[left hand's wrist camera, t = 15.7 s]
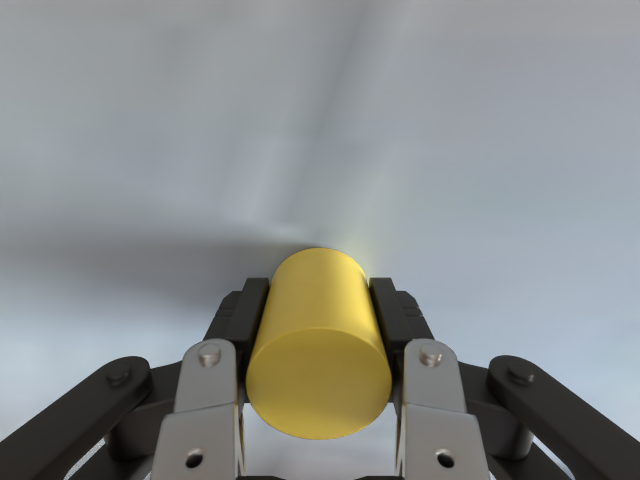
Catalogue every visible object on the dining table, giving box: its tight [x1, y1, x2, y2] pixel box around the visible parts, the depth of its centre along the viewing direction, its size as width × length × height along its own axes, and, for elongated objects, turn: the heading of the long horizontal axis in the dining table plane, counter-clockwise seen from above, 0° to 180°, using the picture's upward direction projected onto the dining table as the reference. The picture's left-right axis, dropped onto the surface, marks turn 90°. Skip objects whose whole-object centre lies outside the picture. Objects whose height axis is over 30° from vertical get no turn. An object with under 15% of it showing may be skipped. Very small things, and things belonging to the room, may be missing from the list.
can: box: [246, 248, 392, 440], centre depth 11 cm, size 4×4×5 cm
